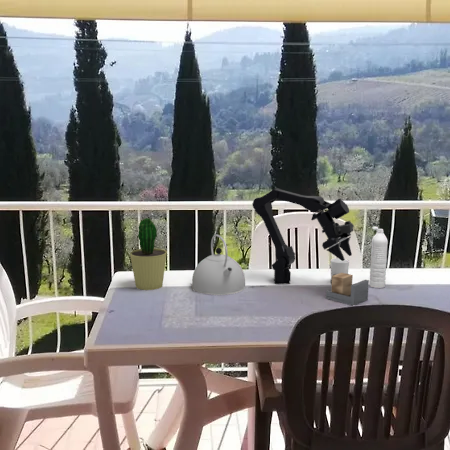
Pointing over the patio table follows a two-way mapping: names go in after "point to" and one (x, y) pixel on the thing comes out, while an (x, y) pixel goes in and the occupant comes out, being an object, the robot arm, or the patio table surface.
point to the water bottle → (378, 259)
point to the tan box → (342, 283)
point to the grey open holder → (357, 294)
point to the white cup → (339, 266)
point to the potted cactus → (148, 258)
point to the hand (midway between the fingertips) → (347, 257)
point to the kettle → (218, 274)
